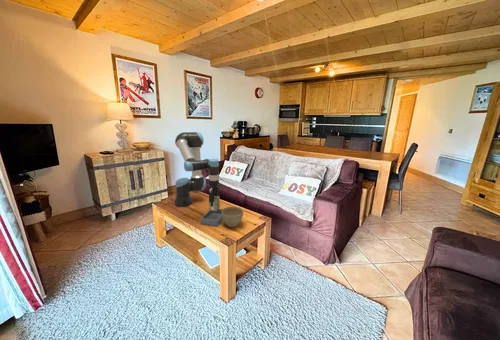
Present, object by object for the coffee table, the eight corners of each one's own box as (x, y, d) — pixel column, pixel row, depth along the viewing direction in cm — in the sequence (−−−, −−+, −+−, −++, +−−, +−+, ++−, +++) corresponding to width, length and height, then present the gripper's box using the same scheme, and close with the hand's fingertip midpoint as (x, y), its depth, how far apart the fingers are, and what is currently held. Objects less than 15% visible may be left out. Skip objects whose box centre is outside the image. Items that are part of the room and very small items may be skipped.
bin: (212, 212, 170) (212, 207, 169) (227, 215, 167) (227, 210, 166) (200, 223, 152) (200, 218, 151) (217, 226, 149) (217, 221, 147)
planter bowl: (235, 232, 142) (235, 218, 140) (217, 225, 150) (217, 212, 147) (247, 222, 156) (247, 209, 153) (229, 217, 164) (229, 204, 161)
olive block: (212, 207, 161) (212, 195, 158) (219, 208, 159) (219, 196, 157) (209, 210, 155) (208, 198, 153) (216, 211, 154) (216, 199, 151)
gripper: (212, 183, 141) (213, 214, 147) (223, 176, 159) (223, 204, 165) (203, 182, 143) (204, 212, 149) (214, 175, 161) (215, 202, 167)
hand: (214, 208), depth 157 cm, fingers closed on olive block, 6 cm apart
